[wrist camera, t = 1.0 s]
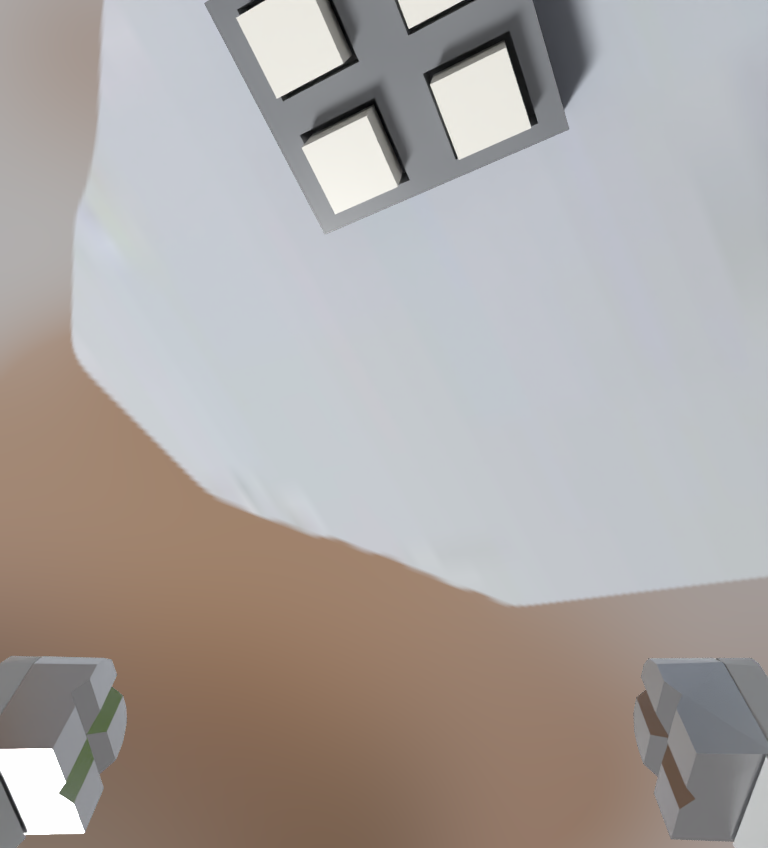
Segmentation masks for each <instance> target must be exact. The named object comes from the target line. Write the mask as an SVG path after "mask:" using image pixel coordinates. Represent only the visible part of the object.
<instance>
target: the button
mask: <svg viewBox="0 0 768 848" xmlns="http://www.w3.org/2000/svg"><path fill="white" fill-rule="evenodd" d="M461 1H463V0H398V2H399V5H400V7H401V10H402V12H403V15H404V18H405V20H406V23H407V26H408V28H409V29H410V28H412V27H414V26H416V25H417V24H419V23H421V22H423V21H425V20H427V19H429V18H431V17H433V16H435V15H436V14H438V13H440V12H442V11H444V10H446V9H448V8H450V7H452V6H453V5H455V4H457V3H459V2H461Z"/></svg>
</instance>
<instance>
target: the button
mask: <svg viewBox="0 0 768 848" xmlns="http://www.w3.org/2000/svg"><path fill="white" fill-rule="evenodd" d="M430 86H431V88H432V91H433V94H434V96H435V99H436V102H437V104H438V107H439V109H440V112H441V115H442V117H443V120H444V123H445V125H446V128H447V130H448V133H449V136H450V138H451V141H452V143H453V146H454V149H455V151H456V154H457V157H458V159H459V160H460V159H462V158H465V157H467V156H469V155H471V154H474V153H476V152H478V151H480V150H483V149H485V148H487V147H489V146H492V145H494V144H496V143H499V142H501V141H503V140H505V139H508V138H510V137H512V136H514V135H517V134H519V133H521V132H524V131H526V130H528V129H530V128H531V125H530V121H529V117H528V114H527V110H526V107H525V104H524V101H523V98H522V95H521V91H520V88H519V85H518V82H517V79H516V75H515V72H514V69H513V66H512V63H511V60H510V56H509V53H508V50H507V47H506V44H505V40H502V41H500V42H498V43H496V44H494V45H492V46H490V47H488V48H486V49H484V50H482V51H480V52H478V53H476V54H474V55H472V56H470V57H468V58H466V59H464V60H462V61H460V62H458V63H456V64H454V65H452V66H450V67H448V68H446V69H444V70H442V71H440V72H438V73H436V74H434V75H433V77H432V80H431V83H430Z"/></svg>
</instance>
